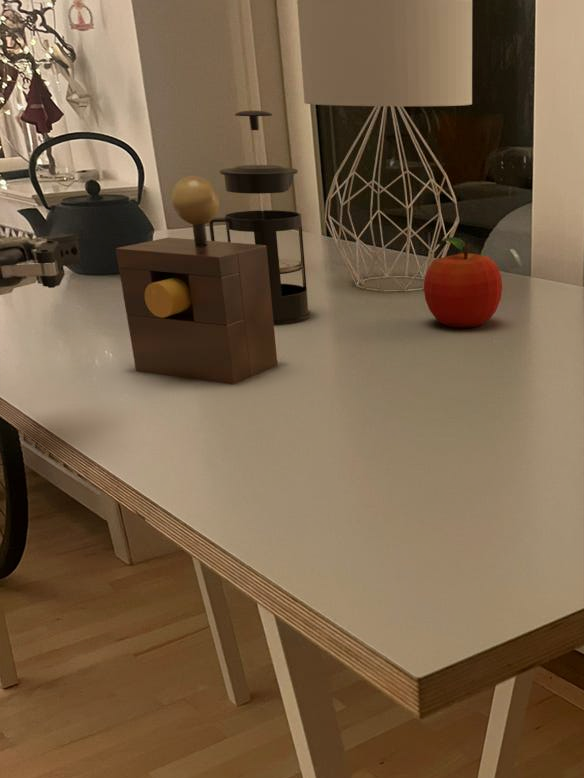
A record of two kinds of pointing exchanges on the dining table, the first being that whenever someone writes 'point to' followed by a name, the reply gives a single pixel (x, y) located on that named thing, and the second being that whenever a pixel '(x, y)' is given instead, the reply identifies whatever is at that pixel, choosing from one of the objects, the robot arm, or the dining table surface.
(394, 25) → the table lamp
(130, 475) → the dining table surface
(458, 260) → the fruit
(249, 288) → the switch box
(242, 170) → the french press
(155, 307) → the button
